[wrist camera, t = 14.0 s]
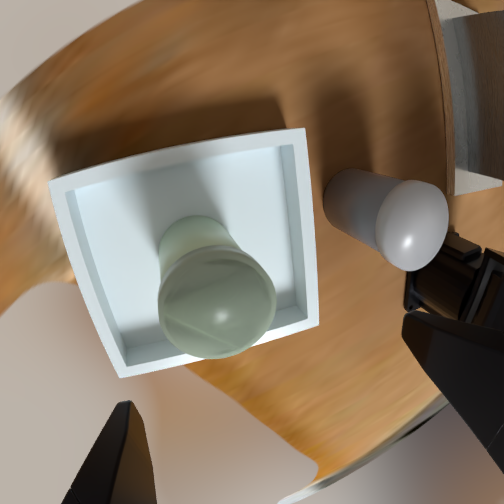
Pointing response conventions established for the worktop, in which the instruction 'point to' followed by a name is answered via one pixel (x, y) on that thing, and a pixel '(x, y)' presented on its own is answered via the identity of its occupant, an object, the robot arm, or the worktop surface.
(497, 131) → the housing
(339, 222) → the grey cup
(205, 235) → the cylinder
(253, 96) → the worktop surface
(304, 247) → the tray
